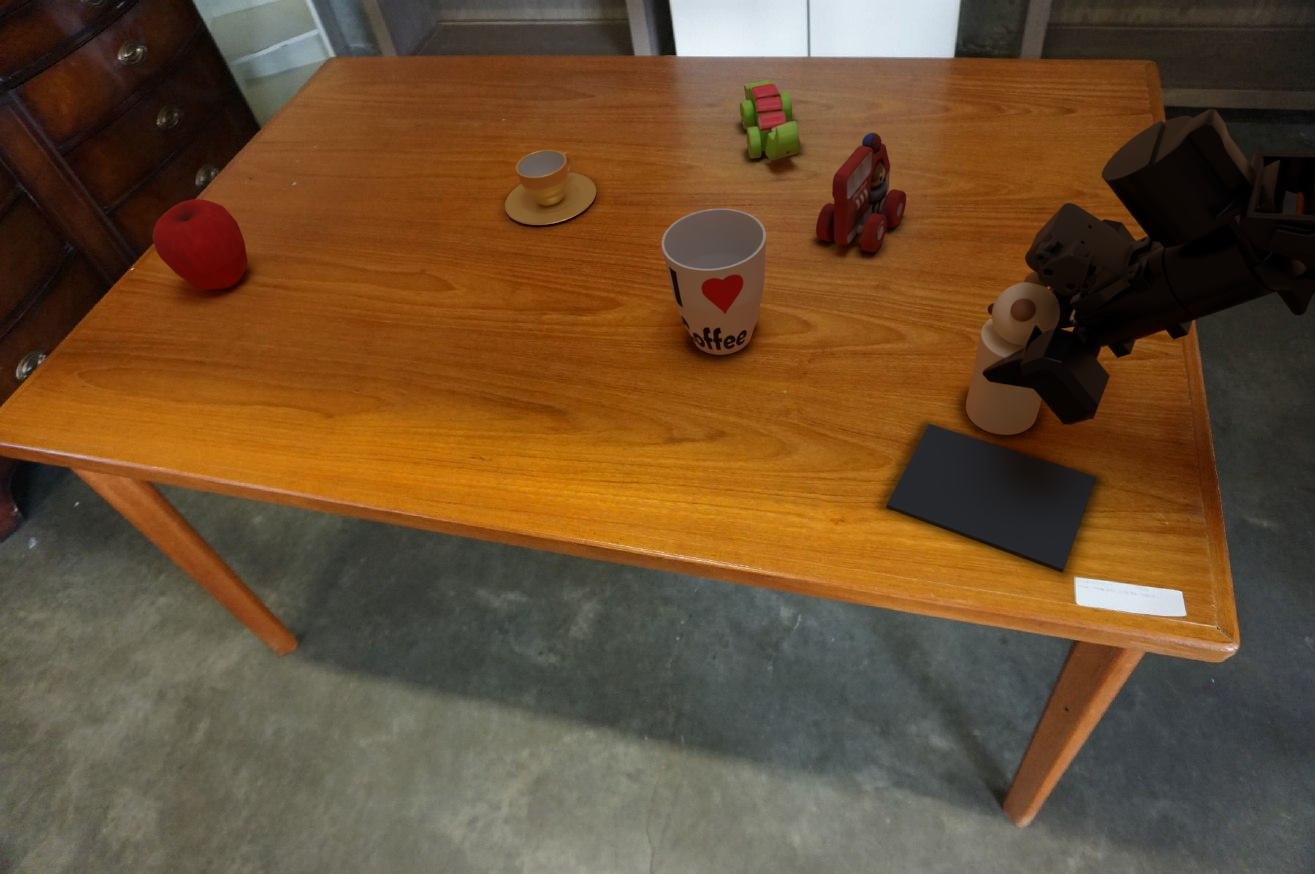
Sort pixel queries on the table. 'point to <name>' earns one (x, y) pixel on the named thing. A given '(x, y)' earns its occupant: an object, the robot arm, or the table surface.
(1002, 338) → the bear
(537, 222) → the cup
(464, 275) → the table surface
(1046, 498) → the mat
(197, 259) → the apple
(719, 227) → the cup
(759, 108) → the toy crocodile
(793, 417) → the table surface
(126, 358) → the table surface
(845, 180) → the toy fire truck
